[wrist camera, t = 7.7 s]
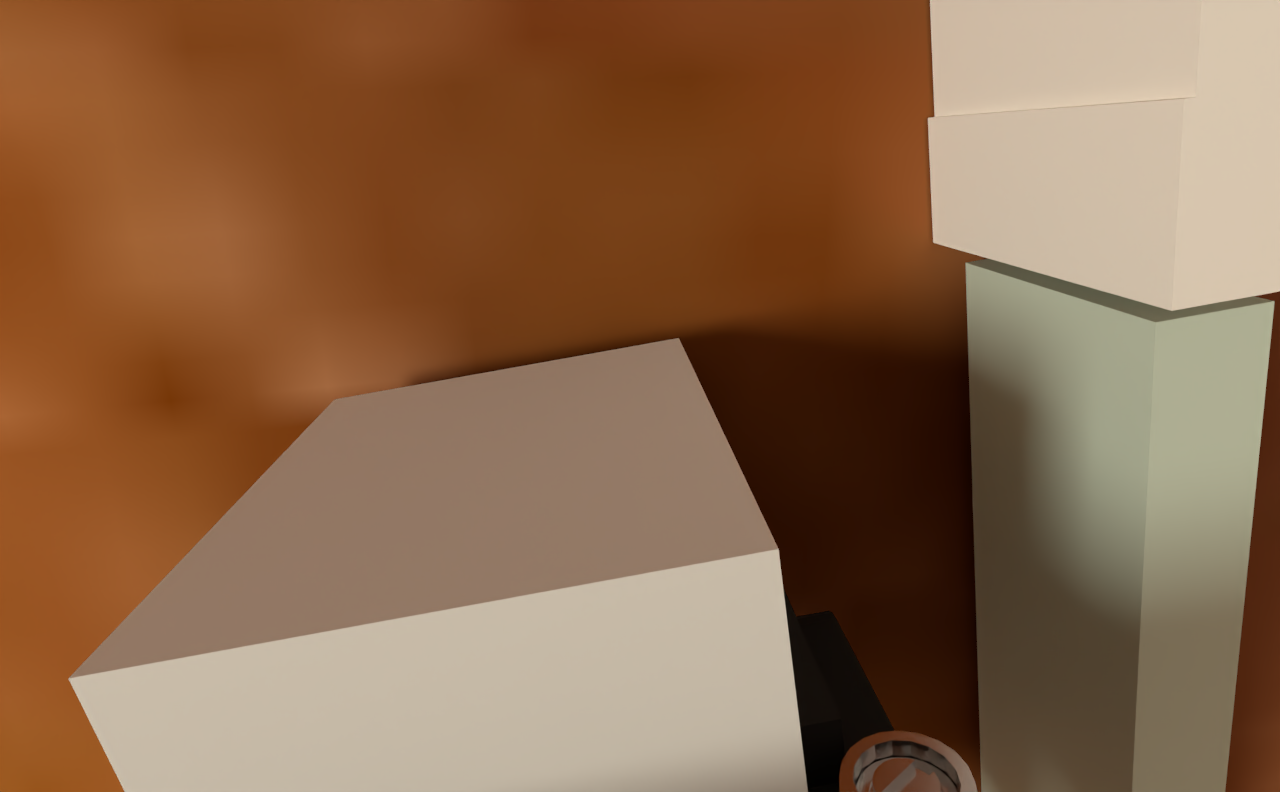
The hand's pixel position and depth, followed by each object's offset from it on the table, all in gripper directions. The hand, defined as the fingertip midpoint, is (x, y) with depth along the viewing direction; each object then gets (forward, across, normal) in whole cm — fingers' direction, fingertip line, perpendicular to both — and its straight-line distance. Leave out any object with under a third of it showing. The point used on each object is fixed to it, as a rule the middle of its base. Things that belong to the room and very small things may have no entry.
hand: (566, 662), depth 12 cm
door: (+2, -8, +6) cm, 10 cm away
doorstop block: (+1, 0, 0) cm, 1 cm away
